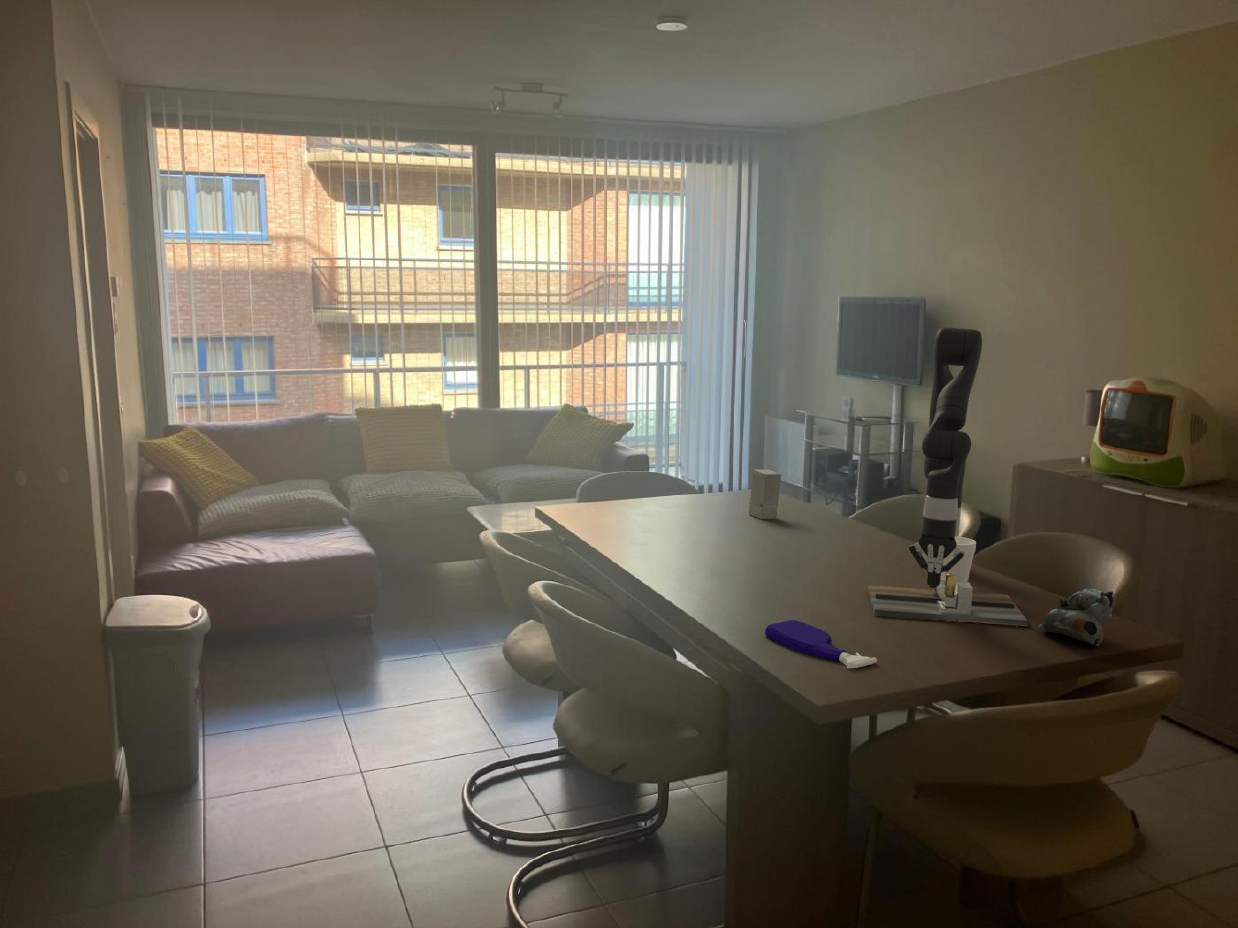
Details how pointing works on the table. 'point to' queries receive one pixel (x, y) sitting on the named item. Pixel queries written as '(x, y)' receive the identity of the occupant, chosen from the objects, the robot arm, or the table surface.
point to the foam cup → (965, 563)
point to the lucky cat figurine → (1081, 616)
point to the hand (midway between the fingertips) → (933, 587)
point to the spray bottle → (812, 643)
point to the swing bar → (947, 590)
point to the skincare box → (764, 494)
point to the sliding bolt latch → (925, 607)
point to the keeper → (959, 600)
